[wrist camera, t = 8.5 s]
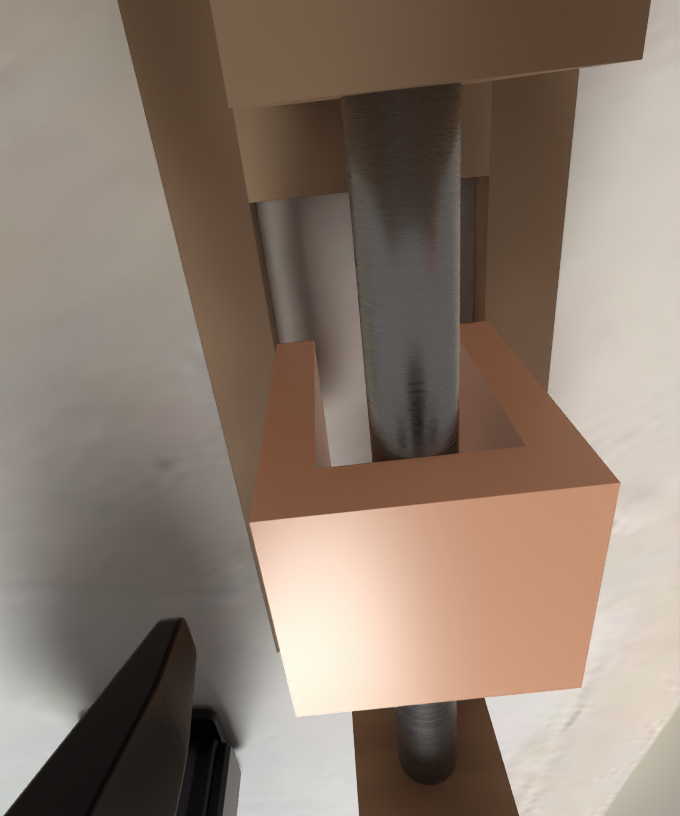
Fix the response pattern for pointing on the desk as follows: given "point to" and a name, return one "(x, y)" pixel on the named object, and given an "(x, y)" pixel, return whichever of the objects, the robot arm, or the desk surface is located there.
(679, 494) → the desk surface
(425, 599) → the clip
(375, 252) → the stand
